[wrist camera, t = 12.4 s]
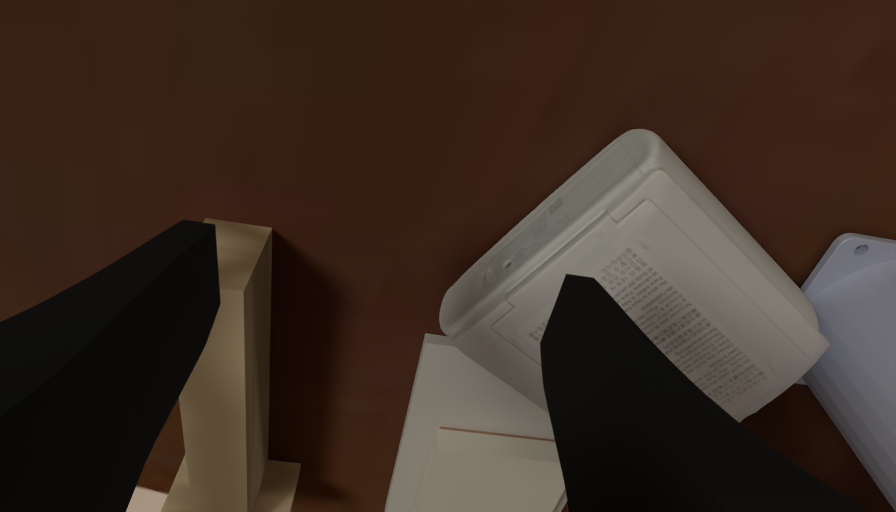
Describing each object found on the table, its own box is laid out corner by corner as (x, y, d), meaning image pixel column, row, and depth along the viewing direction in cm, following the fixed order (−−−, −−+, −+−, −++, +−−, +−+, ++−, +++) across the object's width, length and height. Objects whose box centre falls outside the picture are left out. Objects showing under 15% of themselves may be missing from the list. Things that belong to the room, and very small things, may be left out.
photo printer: (435, 287, 24) (623, 424, 28) (432, 357, 20) (649, 502, 24) (631, 106, 20) (815, 299, 24) (673, 152, 16) (881, 370, 20)
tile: (577, 464, 28) (527, 557, 33) (572, 439, 29) (524, 531, 34) (436, 449, 27) (408, 546, 32) (436, 423, 28) (409, 521, 33)
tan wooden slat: (317, 234, 22) (297, 299, 19) (300, 469, 31) (284, 540, 28) (159, 209, 22) (109, 272, 18) (187, 457, 30) (157, 529, 27)
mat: (635, 361, 26) (639, 371, 26) (548, 521, 34) (550, 531, 34) (425, 333, 25) (424, 342, 25) (385, 505, 33) (384, 515, 33)
